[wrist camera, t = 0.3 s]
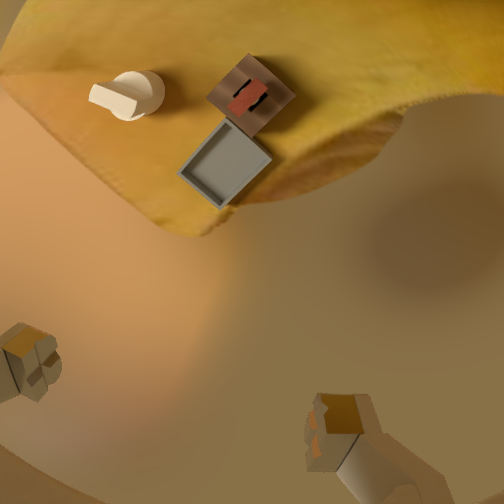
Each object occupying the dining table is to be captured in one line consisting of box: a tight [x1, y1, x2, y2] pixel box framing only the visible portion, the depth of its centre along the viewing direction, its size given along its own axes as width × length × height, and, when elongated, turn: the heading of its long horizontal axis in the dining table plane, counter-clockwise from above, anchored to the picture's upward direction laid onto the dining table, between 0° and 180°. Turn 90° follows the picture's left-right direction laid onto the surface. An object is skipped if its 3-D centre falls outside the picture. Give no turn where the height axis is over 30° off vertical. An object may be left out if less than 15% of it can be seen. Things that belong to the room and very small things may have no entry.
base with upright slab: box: [89, 71, 165, 121], centre depth 43 cm, size 9×9×12 cm
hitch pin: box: [227, 77, 268, 117], centre depth 42 cm, size 6×3×10 cm, turn 137°
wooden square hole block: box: [206, 53, 296, 138], centre depth 44 cm, size 10×10×6 cm
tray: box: [176, 117, 273, 210], centre depth 53 cm, size 14×11×3 cm
